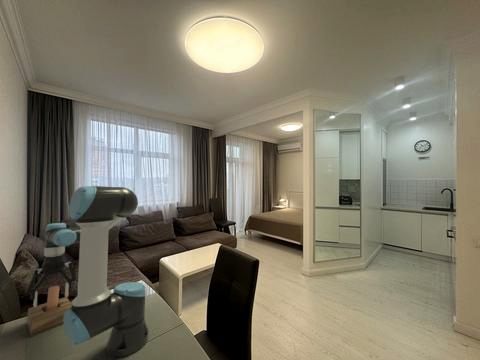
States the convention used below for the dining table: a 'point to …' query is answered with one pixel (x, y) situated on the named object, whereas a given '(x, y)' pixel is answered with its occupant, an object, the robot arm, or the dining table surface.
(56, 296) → the peg
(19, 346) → the dining table surface
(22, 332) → the dining table surface
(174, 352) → the dining table surface
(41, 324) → the socket block
